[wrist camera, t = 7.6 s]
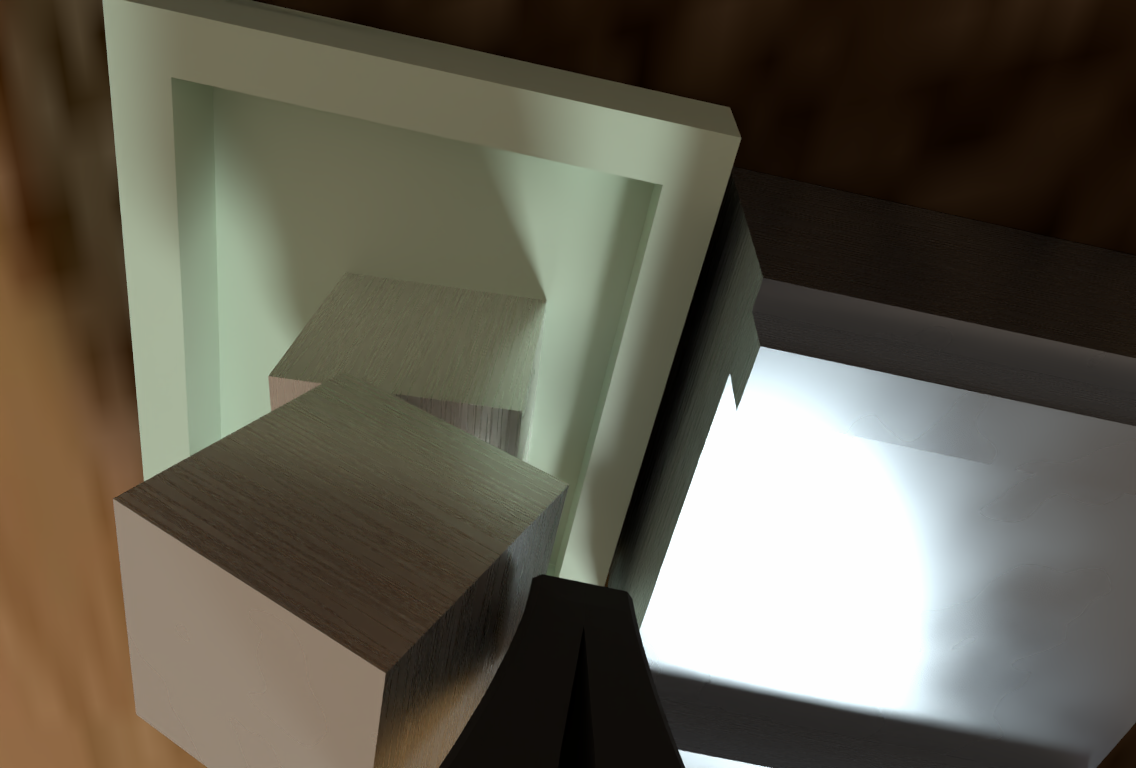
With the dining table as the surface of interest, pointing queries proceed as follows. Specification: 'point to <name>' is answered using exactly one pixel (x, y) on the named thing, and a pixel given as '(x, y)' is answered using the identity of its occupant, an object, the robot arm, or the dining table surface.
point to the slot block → (891, 493)
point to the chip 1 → (427, 353)
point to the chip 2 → (330, 583)
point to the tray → (403, 221)
